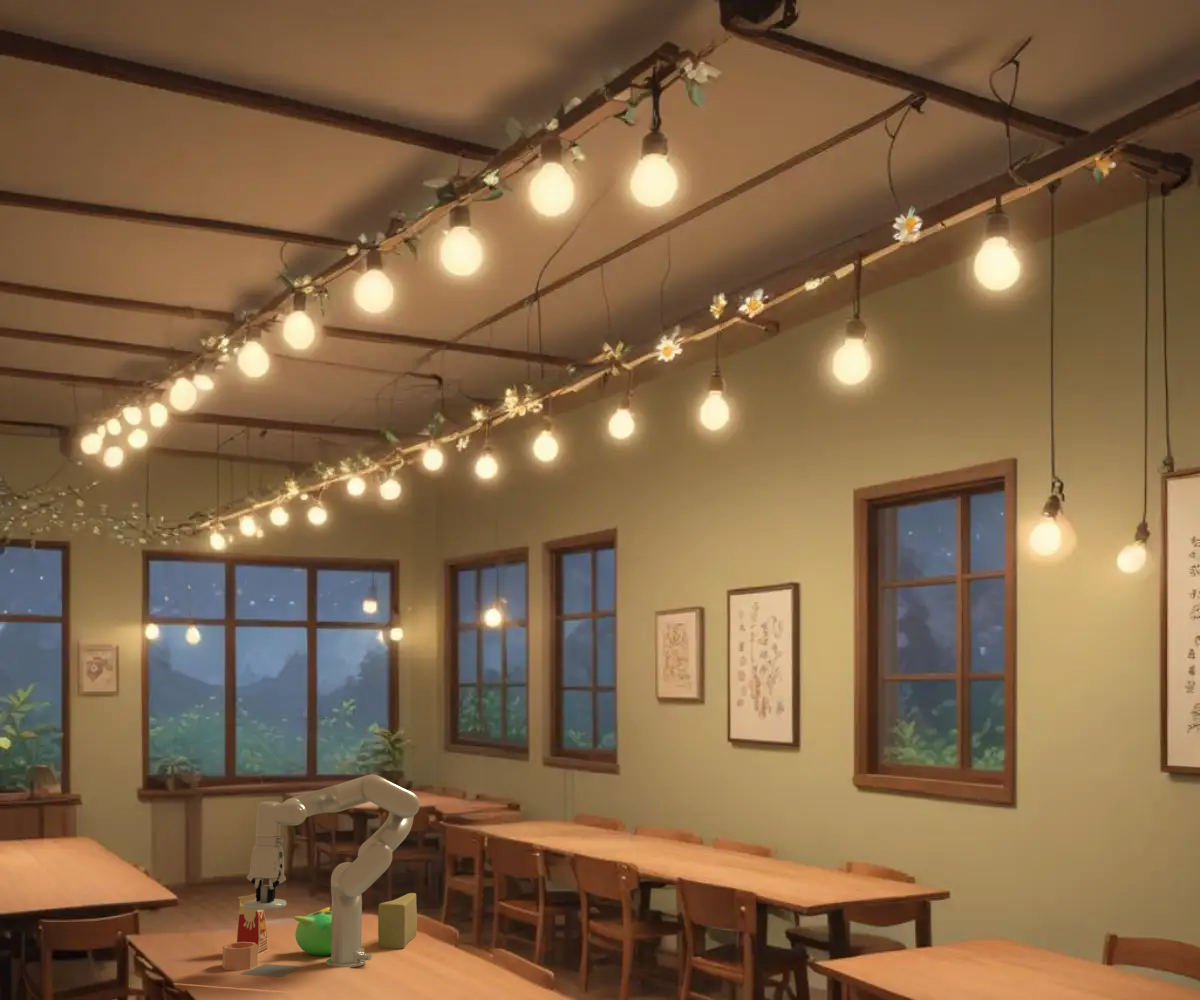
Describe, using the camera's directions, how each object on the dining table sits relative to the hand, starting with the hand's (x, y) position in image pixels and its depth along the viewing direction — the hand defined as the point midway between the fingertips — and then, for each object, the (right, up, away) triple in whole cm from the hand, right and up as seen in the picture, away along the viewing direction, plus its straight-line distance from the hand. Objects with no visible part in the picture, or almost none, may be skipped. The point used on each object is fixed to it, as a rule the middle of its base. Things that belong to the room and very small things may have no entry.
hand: (265, 900), depth 414 cm
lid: (0, -2, 0) cm, 2 cm away
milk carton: (-11, -25, +22) cm, 35 cm away
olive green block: (+37, -27, +40) cm, 61 cm away
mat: (+3, -21, -4) cm, 22 cm away
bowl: (-9, -22, +2) cm, 24 cm away
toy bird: (+14, -24, +20) cm, 34 cm away
